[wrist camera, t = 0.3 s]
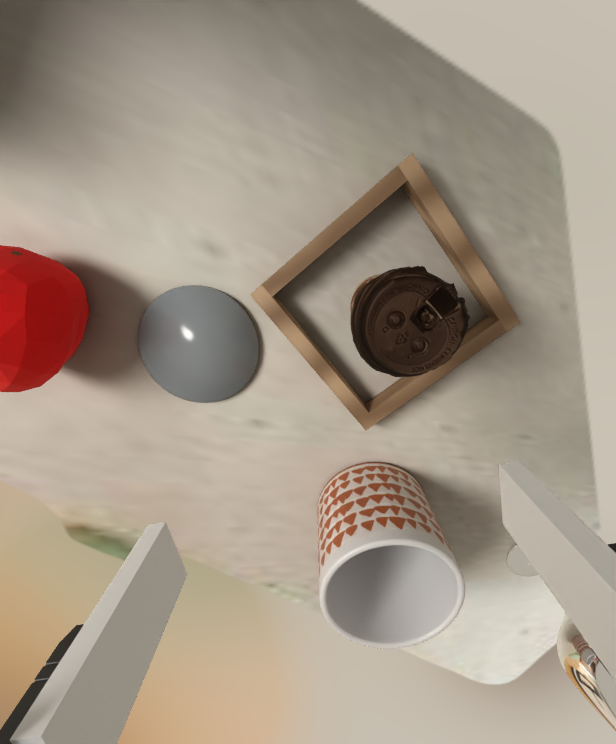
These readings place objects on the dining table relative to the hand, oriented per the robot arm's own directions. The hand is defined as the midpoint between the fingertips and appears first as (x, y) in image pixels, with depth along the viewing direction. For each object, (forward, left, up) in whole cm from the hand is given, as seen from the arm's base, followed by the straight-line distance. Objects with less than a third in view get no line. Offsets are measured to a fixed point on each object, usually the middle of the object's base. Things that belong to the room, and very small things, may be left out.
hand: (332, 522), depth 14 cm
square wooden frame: (0, +8, -26) cm, 27 cm away
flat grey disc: (-9, -10, -26) cm, 29 cm away
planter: (+20, -8, -26) cm, 34 cm away
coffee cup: (0, +8, -26) cm, 27 cm away
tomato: (-22, -20, -26) cm, 39 cm away
